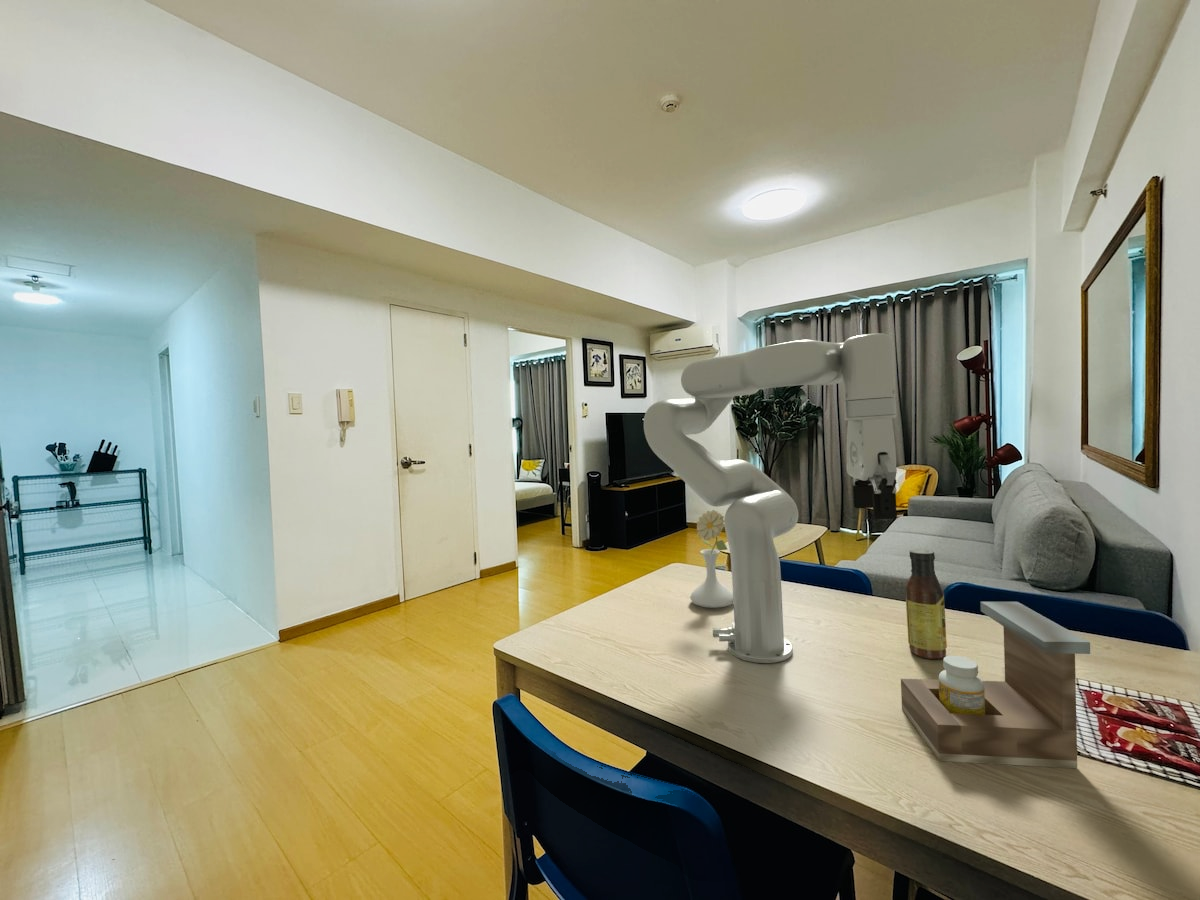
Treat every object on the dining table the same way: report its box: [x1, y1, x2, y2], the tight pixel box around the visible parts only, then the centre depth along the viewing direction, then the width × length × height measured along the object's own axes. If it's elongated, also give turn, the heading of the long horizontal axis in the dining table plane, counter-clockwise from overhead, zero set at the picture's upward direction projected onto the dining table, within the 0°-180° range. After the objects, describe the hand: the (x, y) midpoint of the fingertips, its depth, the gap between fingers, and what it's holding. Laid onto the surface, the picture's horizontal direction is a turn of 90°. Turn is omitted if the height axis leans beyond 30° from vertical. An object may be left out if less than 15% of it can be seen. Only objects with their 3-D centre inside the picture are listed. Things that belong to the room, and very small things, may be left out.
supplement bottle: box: [938, 655, 985, 715], centre depth 71 cm, size 5×5×10 cm
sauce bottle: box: [905, 548, 948, 660], centre depth 95 cm, size 7×6×20 cm
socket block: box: [900, 601, 1091, 769], centre depth 70 cm, size 17×14×17 cm
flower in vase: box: [689, 509, 734, 609], centre depth 127 cm, size 13×11×25 cm
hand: (873, 512), depth 83 cm, fingers open, 9 cm apart
